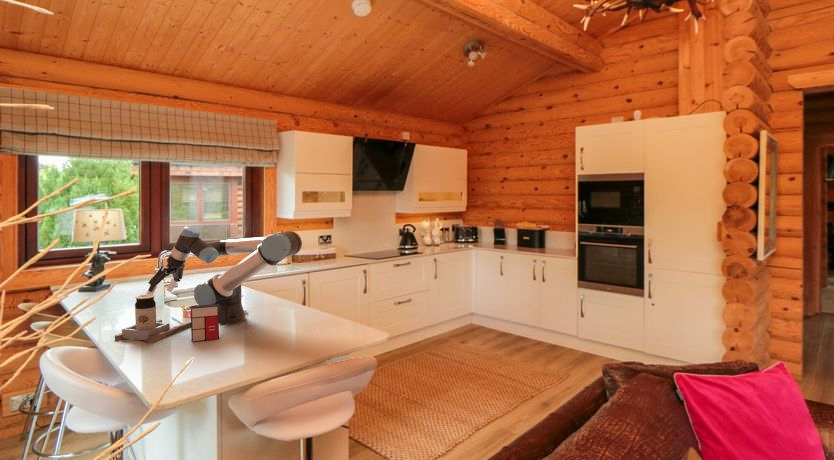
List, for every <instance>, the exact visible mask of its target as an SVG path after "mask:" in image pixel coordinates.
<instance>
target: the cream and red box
mask: <svg viewBox="0 0 834 460" xmlns="http://www.w3.org/2000/svg"><path fill="white" fill-rule="evenodd" d="M190 322H191V327H190V335H191V342H192V343H195V342H206V341H215V340H220V324H219V307H218V304H209V305H198V304H197V305H191V306H190Z"/></svg>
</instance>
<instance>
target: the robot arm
mask: <svg viewBox="0 0 834 460" xmlns="http://www.w3.org/2000/svg"><path fill="white" fill-rule="evenodd" d="M200 235H201V232H200V231H199V229H197V228H196V227H193V226H189V225H188V226H184V227H183V229H182V230H181V232H180V233H179V237H178V238H177V240H176V243H174V246H172V247H173V248H172V250H171V251H170V253H169V255H168V257H167V259H166V262H167V264H166V266H164V265H161V266H160V268H159V270H158V271H157V272H156V273H155V274H154V276H152V278H151V279H149V281H148V282H147V283H148V284H149V285H150V286H149V287H148V290H147V291H146V293H145V294H152V295H154V293H155V292H156V290H157V288H158V285H159V284H160V283H161V282H162V281H163V280H164V279H165V278H167V277H169V276H170V275H172V277H173V278H171V280H170V282H169V284H168V285H167V287H166V291H167V292H169V293H170V294H171V293H173V291H174V288H175V286H176V284H177V283H180V282H181V280H182V279H183V276H184V275H183V274H184V268H185V266H186V265H185V263H186V261H187V260H188V257H189V256H190V253H191V254H192V255H193V256H196V258H197V259H200V261H202V262H204V263H206V264H208V265H209V264H212V263H213V262H215V261H216V260H217V258H218V257H221V256H222V257H223V256H231V255H232V256H233V255H245V254H249V255H248V256H246V257H245V258H244V259H242V260H241V261H239V262H238V263H237V264H235V265H234V266H232V267H231V268H229V269H228V270H227V271H225V272H223V273H220V274H215V275H214V276H212V277H211V278H210V279H208V280H207V281H205V282H200V283H199V284H197V285H196V286H195V288H194V290H193V298H194V301H195V302H196V304H197V305H209V304H218V307H219V325H231V324H237V323H242V322H244V321H245V320H246V318H247V317H246V313H245V310H244V307H243V302H242V299H243V298H242V284H243V283H245V282H247V281H249V279H252V277H254V276H255V275H257V274H259V272H261V271H263V270H264V269H266V268H267V267H268V266H273V267H274V266H276V265H277V264H279V263H280V262H282V261H283V260H284V259H286V258H289V257H292V256H295V255H297V254H298V253H299V252H300V251H301V249H302V246H303V241H302V238H301V236H300V235H299V234H298V233H296V232H294V231H292V230H286V231H282V232H273V233H270V234H268V235H267V236H260V237H258V236H257V237H245V238H234V239H232V238H231V239H219V240H213V241H209V242H206V241H204V240H203V239H202V238H200Z"/></svg>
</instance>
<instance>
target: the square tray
mask: <svg viewBox="0 0 834 460" xmlns="http://www.w3.org/2000/svg"><path fill="white" fill-rule="evenodd" d="M168 329H171V328H170V323H169V322H162V323H161V322H156V328H153V329H151V330H148V331H146V330H136V323H135V324H132V325H131V326H127V327H124V328H122V329H121V333H122V338H124V339H125V340H126V339H127V340H138V341H146V338H148V337H151V336H153V335H156V334H158V333H160V332H163V331H166V330H168Z"/></svg>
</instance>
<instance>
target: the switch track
mask: <svg viewBox="0 0 834 460" xmlns="http://www.w3.org/2000/svg"><path fill="white" fill-rule="evenodd" d="M156 322H161V323H163V319H156ZM189 328H191V321H186V322H184V323H181V324H178V325H176V326H173V327H171V328H170V329H168V330H166V331H163V332H160V333H158V334H156V335H153V336H151V337H148V338H146V340H145V341H146V342H145V343H146V344H153V343H155V342H158V341H159V340H162V339H164V338H167V337H169V336H171V335H174V334H177V333H178V332H182V331H183V330H186V329H189ZM123 339H125V338H122V332H121V333H118V334H115V335H114V340H115V341H120V340H123Z"/></svg>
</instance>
